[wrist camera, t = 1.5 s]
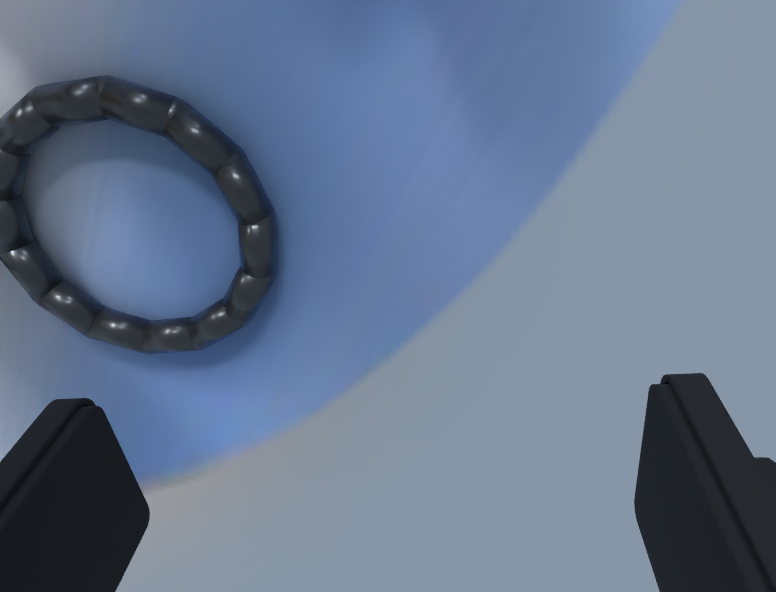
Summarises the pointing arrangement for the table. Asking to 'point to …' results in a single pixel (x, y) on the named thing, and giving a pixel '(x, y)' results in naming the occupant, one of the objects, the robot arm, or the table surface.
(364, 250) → the table surface
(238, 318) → the beaded ring
